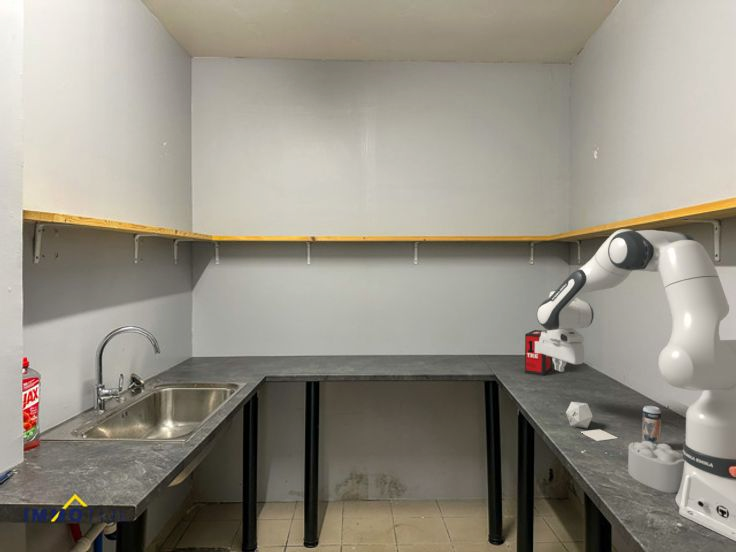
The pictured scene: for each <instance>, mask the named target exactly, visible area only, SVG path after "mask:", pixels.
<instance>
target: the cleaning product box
mask: <svg viewBox="0 0 736 552" xmlns="http://www.w3.org/2000/svg"><path fill="white" fill-rule="evenodd" d="M542 331H543V330H540V329H539V330H538V329H534V330H532V331H529V332H527V333H525V335H524V336H525V337H524V342H525V343H524V373H525V374H528V375H535V376H541V377H544V376H545V375H546V374H548V373H549V372H550V371H552V370H553V360H552V359H553V357H551V356H548V355H544V354H541V353H540V352H539V350H538V347H539V339H540V336H541V332H542Z"/></svg>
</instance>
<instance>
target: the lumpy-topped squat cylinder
mask: <svg viewBox="0 0 736 552" xmlns="http://www.w3.org/2000/svg"><path fill="white" fill-rule="evenodd" d="M627 454H628V455H627V456H628V459H627V460H628V461H627V462H628V464H627V468H628V469H627V473H628V474H629V476H630V477H632V479H634V480H635V481H636V482H639V483H641V484H643V485H645V486H647V487H649V488H652V489H654V490H657V491H660V492H664V493H669V494H676V493H678V491H679V488H680V485H681V481H682V476H683V469H684V459H683V453H681V452H678V451H676V450H673V448H672V446H670V445H669V444H667V443H660V444H658V445H656V444H653V443H652V442H649V441H643V442H642V441H641V442H639V441H636V442H631V443H629V444H628V453H627Z"/></svg>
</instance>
